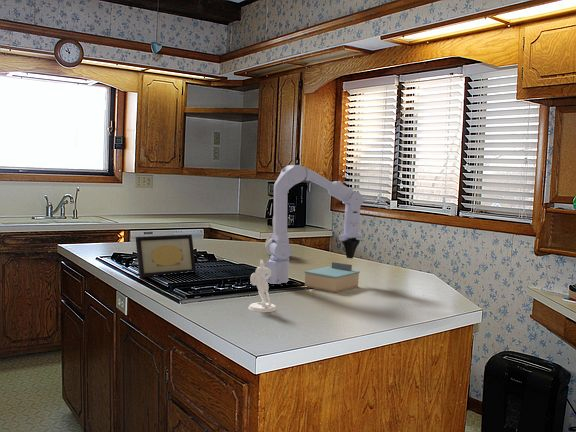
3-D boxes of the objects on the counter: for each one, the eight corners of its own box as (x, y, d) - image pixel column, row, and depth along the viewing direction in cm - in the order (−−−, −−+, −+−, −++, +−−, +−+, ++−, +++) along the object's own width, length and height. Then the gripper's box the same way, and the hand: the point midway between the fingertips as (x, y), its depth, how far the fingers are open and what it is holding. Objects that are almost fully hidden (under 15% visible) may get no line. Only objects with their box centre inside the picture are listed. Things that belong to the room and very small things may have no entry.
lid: (336, 278, 202) (336, 270, 202) (304, 272, 210) (305, 265, 210) (359, 272, 215) (360, 265, 215) (329, 267, 223) (329, 260, 223)
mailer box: (335, 292, 203) (336, 278, 202) (304, 286, 210) (305, 273, 210) (358, 286, 215) (358, 273, 215) (328, 281, 223) (329, 268, 223)
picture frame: (141, 278, 212) (140, 237, 212) (130, 276, 218) (129, 236, 218) (196, 273, 226) (195, 234, 226) (184, 271, 233) (183, 234, 233)
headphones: (287, 259, 270) (289, 216, 268) (265, 258, 269) (267, 215, 267) (284, 253, 288) (286, 213, 286) (264, 252, 287) (266, 212, 286)
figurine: (242, 307, 176) (244, 258, 174) (263, 303, 182) (265, 256, 181) (261, 313, 170) (263, 262, 168) (283, 309, 176) (285, 260, 174)
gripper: (351, 224, 212) (349, 261, 214) (370, 222, 224) (368, 257, 225) (334, 222, 217) (332, 258, 218) (354, 221, 228) (352, 255, 229)
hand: (349, 258), depth 222 cm, fingers closed
